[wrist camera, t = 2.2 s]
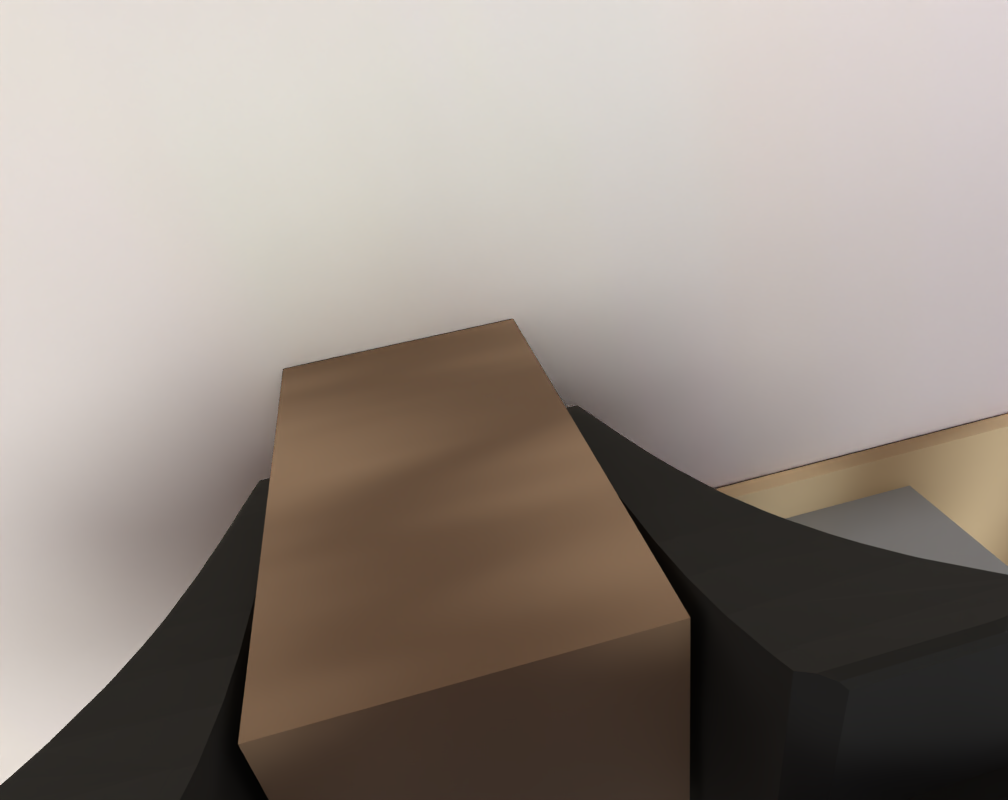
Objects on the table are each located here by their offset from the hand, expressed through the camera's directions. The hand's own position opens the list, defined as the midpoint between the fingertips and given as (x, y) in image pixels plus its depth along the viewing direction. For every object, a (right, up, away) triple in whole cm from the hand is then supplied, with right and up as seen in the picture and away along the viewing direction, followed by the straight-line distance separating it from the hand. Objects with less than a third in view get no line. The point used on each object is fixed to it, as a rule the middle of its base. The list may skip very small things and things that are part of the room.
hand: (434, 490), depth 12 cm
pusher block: (0, +1, +1) cm, 2 cm away
